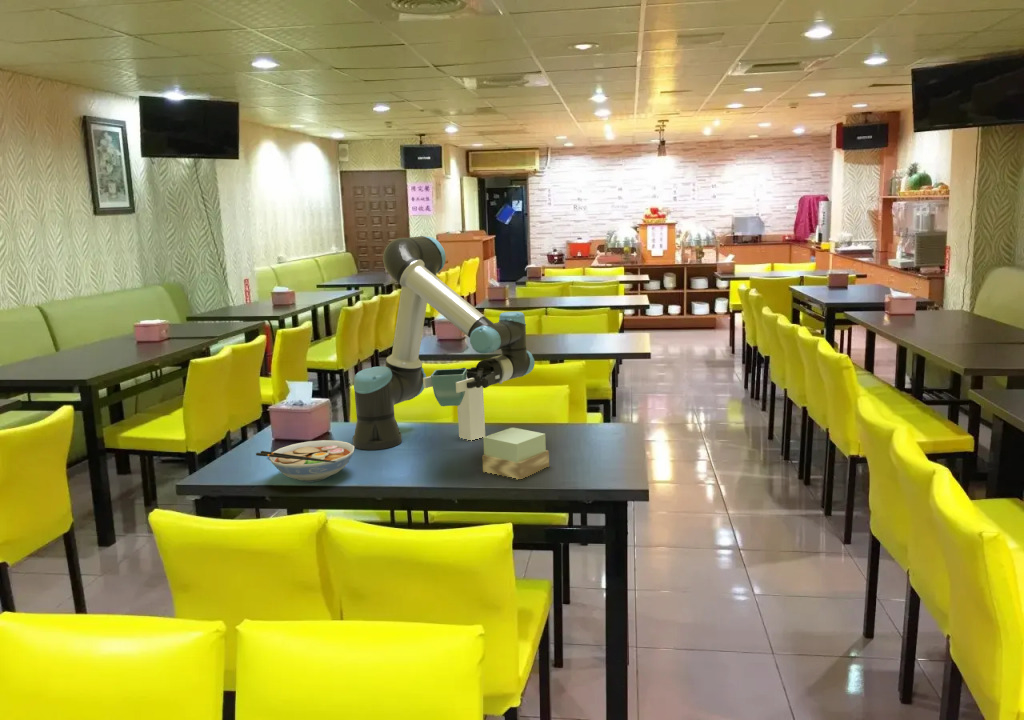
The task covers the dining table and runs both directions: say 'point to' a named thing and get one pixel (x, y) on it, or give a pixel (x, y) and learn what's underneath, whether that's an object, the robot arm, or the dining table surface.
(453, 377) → the flower pot
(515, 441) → the sage block
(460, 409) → the milk
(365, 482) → the dining table surface
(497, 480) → the dining table surface
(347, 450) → the ramen bowl
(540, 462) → the maple block
